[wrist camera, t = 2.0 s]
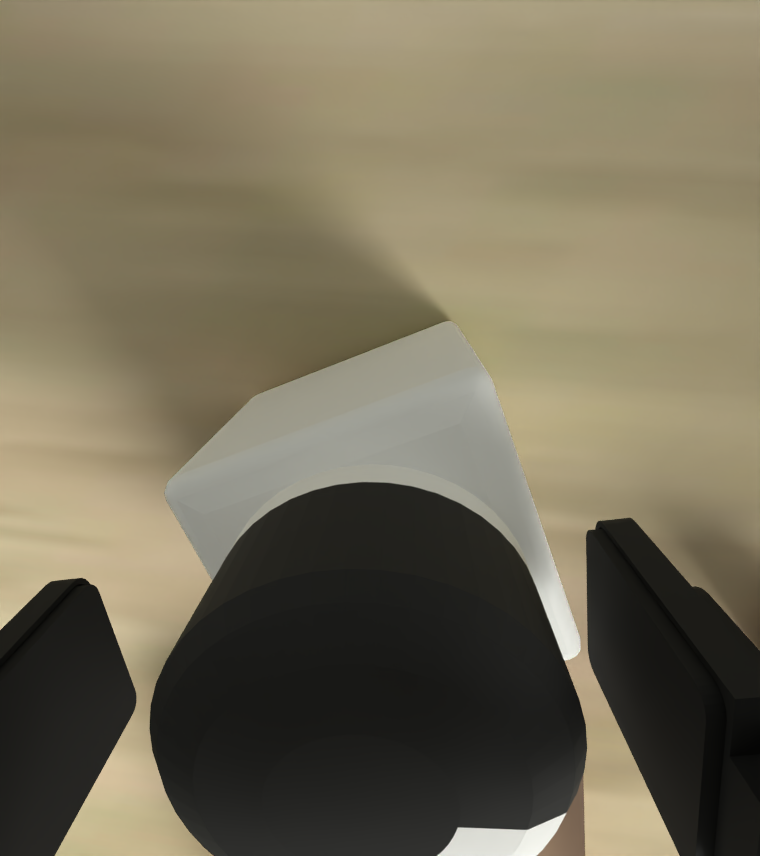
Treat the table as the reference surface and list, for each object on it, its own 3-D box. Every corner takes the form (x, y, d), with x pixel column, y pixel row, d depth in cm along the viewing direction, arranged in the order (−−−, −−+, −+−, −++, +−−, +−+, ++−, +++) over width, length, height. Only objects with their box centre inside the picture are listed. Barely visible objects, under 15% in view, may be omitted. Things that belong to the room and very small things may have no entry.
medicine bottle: (249, 395, 18) (-38, 670, 6) (454, 315, 16) (563, 473, 5) (334, 570, 20) (235, 1016, 8) (522, 510, 18) (708, 933, 7)
